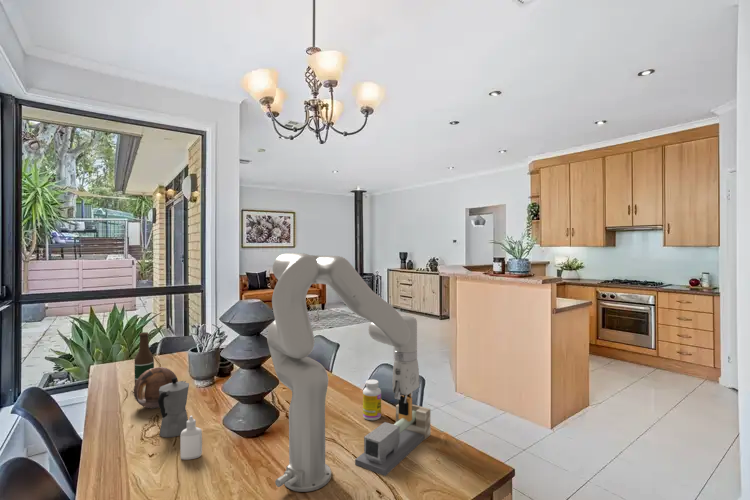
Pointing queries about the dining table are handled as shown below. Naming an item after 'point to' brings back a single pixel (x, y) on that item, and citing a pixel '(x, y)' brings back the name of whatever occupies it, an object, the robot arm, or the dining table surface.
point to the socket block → (419, 420)
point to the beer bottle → (143, 357)
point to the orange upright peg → (406, 417)
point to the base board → (392, 459)
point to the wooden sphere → (152, 386)
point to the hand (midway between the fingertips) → (405, 412)
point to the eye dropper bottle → (191, 441)
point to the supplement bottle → (372, 400)
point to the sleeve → (381, 442)
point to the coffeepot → (173, 408)
